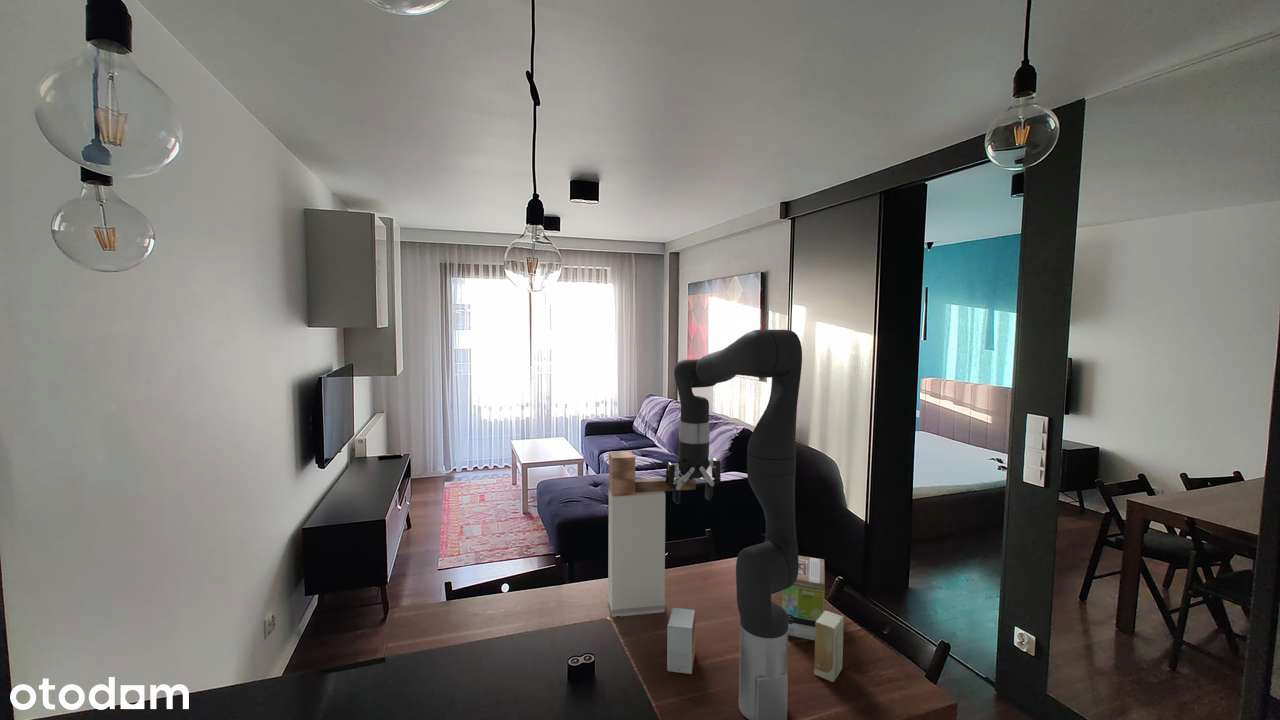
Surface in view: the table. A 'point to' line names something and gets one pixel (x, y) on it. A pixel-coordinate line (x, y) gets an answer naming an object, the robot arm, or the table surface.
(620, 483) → the mallet
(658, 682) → the table surface
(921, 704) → the table surface
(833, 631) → the skincare box
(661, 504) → the pedestal
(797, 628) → the green coffee box
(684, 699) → the table surface
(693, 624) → the small box
